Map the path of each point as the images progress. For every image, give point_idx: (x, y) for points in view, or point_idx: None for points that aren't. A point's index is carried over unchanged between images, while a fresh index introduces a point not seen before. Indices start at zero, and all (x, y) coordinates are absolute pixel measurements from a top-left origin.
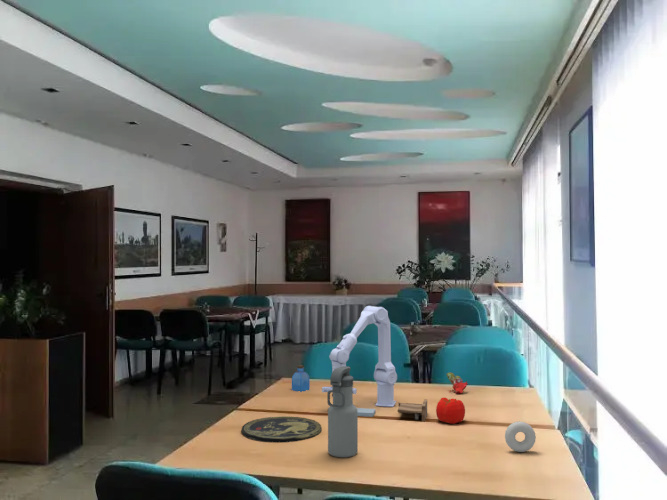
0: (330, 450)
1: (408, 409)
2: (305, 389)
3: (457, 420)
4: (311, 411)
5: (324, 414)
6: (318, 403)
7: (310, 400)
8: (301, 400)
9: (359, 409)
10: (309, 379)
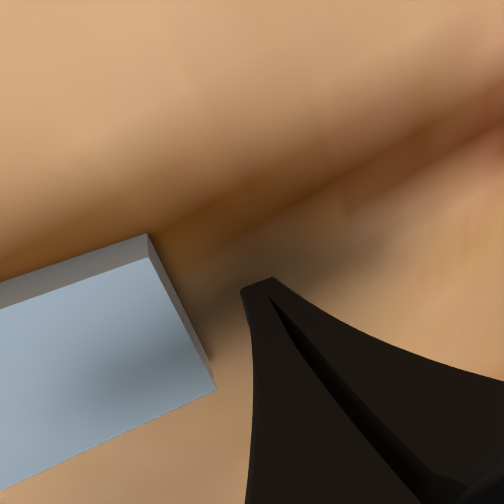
0: None
1: None
2: None
3: None
4: (476, 186)
5: (367, 147)
6: (429, 355)
7: (463, 363)
8: (499, 340)
9: (38, 428)
10: None
